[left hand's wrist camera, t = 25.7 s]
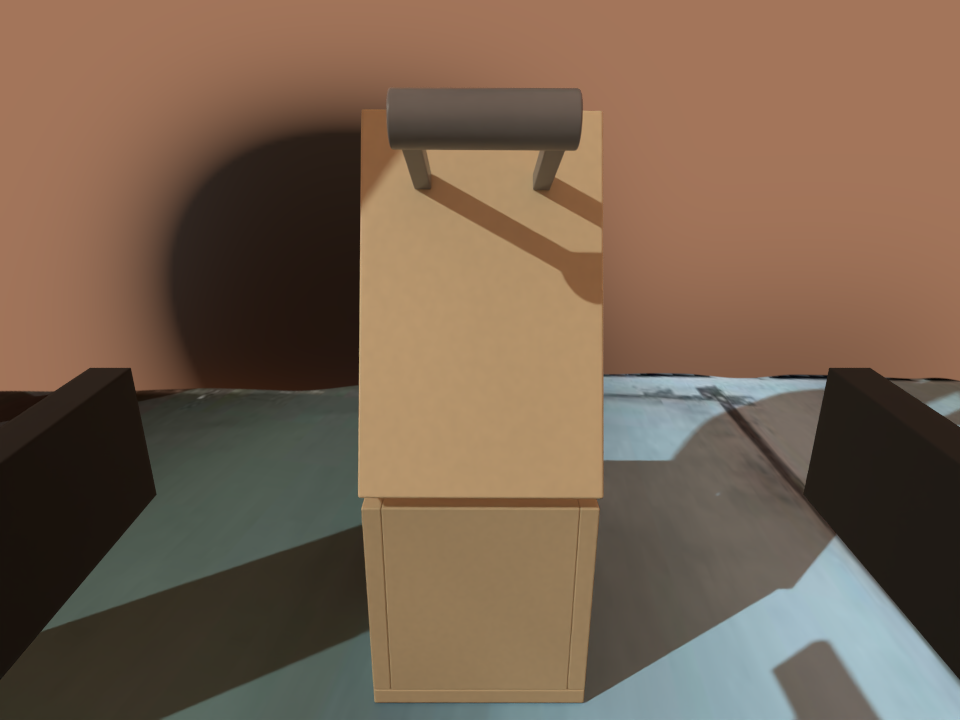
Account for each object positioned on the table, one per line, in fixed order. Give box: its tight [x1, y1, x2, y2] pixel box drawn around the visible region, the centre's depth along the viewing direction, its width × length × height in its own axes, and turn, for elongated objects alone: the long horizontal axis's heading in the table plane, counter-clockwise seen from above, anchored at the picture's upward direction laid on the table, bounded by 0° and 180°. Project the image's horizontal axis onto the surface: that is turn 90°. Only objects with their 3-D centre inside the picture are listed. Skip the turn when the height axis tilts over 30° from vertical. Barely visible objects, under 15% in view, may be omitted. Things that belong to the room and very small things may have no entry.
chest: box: [361, 498, 600, 703], centre depth 36 cm, size 15×10×11 cm, turn 0°
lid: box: [358, 87, 603, 499], centre depth 23 cm, size 16×10×8 cm
